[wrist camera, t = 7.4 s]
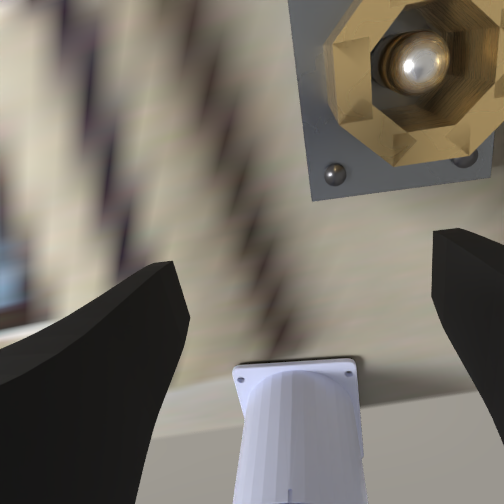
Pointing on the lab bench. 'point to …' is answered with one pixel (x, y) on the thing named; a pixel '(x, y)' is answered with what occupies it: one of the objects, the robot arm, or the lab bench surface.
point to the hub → (432, 103)
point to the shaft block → (383, 97)
